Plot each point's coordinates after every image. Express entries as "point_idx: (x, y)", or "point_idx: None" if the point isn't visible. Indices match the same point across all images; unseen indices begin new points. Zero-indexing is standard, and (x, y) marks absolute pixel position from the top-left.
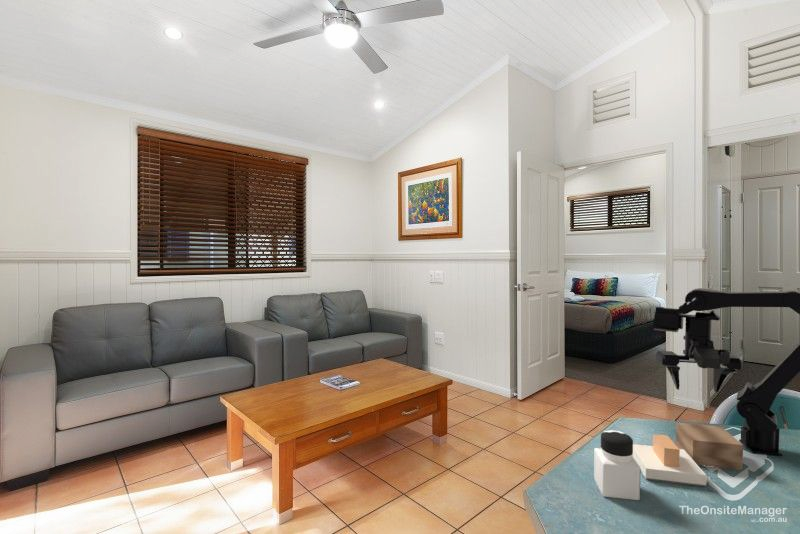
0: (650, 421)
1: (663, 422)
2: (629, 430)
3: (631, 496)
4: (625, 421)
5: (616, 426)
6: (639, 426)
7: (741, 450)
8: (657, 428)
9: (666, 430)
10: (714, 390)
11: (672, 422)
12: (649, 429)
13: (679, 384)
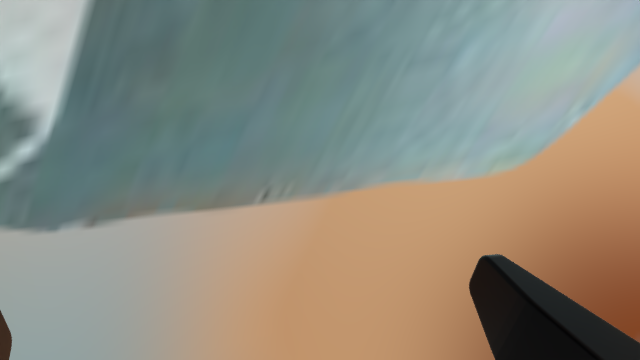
0: (412, 167)
1: (349, 172)
2: (604, 16)
3: None
4: (541, 135)
5: (632, 59)
6: (511, 87)
7: None
8: (428, 82)
9: (392, 64)
10: (7, 343)
11: (299, 184)
12: (483, 56)
13: (535, 303)
